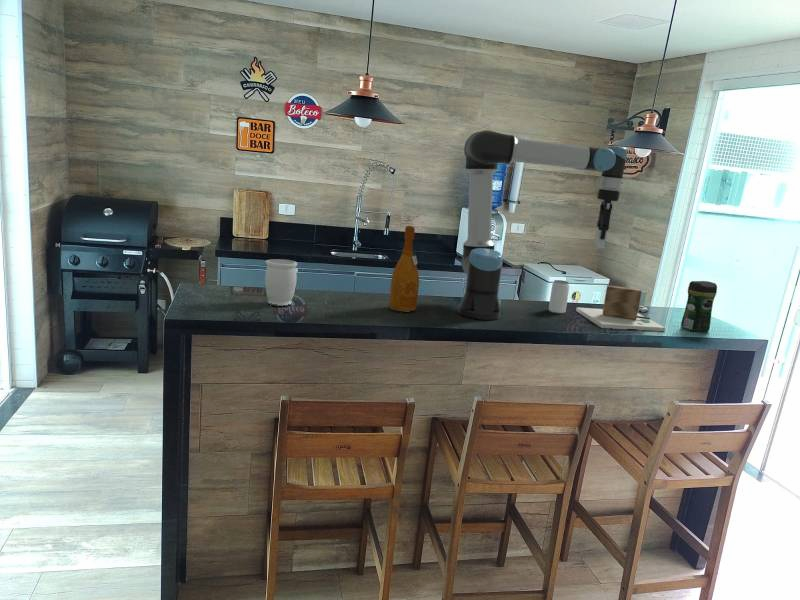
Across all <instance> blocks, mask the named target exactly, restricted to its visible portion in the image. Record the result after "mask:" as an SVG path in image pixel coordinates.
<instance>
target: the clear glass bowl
mask: <svg viewBox="0 0 800 600" xmlns="http://www.w3.org/2000/svg"><path fill="white" fill-rule="evenodd" d="M641 291H642V292H641V297H640V303H639V307H643V308H638V313H640V312H639V311H645V312H646V311H647V312H648V311H649V308H648V307H646V306H645V301H646V297H647V291H645V290H644V291H643V290H641ZM647 312H646V313H647Z"/></svg>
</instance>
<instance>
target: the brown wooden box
mask: <svg viewBox="0 0 800 600" xmlns="http://www.w3.org/2000/svg"><path fill="white" fill-rule="evenodd" d="M642 291H643V290H642V289H639V288H630V287H624V286H616V285H610V284H609V285H608V284H607V285H606V289H605V296H604V302H603V307H602V309H603V315H607V316H614V317H621V318H628V319H635V320H636V319H637V318H642V319H649V320H651V317H647V316H644V317H642V316H643V315H642V316H637V314H638V313H639V312H638V308H639V303H640V297H641V292H642Z"/></svg>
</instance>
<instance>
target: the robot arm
mask: <svg viewBox="0 0 800 600" xmlns="http://www.w3.org/2000/svg"><path fill="white" fill-rule="evenodd" d="M463 151H464V152H463V153H464V156H465V172H467V173H468V177H469V178H468V180H469V181H468V212H467V215H468V216H467V239H466V240H465V241H464V242H463V244H462V247H463V248H462V256H461V259H460V265H461V268H462V271H463V272H464V273H465V274H466V276H467V277H466V284H465V292H464V294H463V296H462V298H461V301H460V303H459V306H458V312H459V313H460V314H459V313H458V314H459V315H461V314H462V315H461V316H463V315H464V316H463V317H465V316H467V317H466V318H469V317H471V319H474V318H476V319H475V320H483V321H486V320H487V321H492V320H493V321H495V320H498V319H500V318H501V314H502V312H501V311H502V310H501V306H500V301H499V289H500V283H501V282H500V281H501V274H502V267H503V263H504V262H503V254H502V253H501V252H500V251H497V250H495V242H493V241H492V240H491V237H492V236H491V235H492V234H491V232H492V213H493V212H492V211H493V210H492V209H493V206H492V205H493V186H494V185H493V183H494V174H495V173H496V172H497V171H498V164H503V165H510V164H511V163H514V162H515V163H523V164H525V163H526V164H534V165H543V166H552V167H561V168H572V169H575V170H579V171H580V170H582V171H591V172H600V173H601V175H600V181H599V186H598V187H599V189H598V191H597V197H596V199H598V200H602V202H601V204H600V205H599V206H600V207H599V212H598V214H599V215H598V218H597V222H596V230H595V236H594V241H593V245H596V249H605V247H606V243H607V242H606V239H607V235H608V230H609V229H610V220H611V216H612V215H611V214H612V210H613V203H612V202H618V201H619V199H620V191H619V190H621V189H622V185H624V181H623V177H624V171H625V168H626V167H625V166H626V163H627V158H628V157H627V156H628V150H627V148H626V147H623V146H615V145H614V146H613V145H608V146H607V147H601V148H600V147H591V146H583V145H575V144H565V143H557V142H549V141H548V142H547V141H538V140H531V139H530V140H529V139H521V138H517V137H516V136H515V135H514V134H513V135H512V134H506V133H501V132H497V131H494V130H489V129H488V130H481V131H476V132H474V133H473V134H471V135H470V136H469V137H468V138H467V139H466V141H465V143H464V148H463Z"/></svg>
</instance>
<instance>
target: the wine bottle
mask: <svg viewBox="0 0 800 600" xmlns="http://www.w3.org/2000/svg"><path fill="white" fill-rule="evenodd" d="M403 238H404V240H405V241H404V245H403V249H402V253H401V256H400V257H399V260H398V261H397V263H396V265H395V266H394V270H393V273H392V275H391V281H390V289H389V290H390V292H389V309H391V308H392V309H394V310H399V311H413V312H415V311H416V309H417V304H418V297H419V296H418V295H419V288H420V287H419V285H420V277H419V271H418V267H417V265H418V263H419V262H418V259H417V255H414V254H415V253H414V251H413V241H414V240H415V227H414V226H412V225H408V226H405V229H404V237H403ZM392 309H391V310H392ZM394 310H393V311H394ZM414 310H415V311H414Z"/></svg>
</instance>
